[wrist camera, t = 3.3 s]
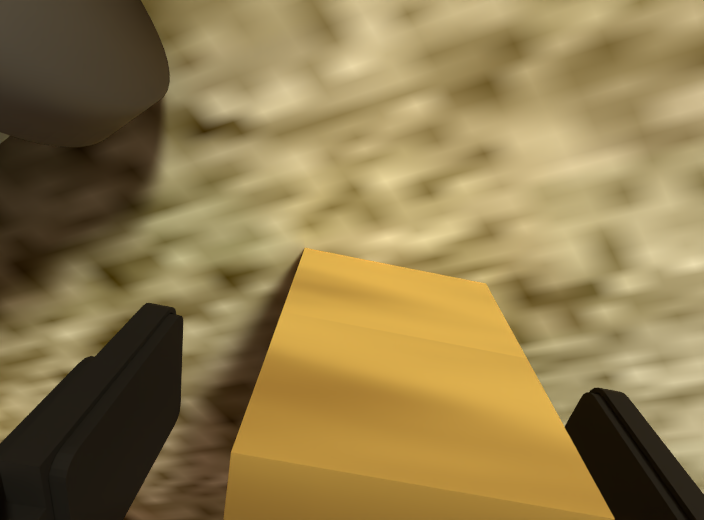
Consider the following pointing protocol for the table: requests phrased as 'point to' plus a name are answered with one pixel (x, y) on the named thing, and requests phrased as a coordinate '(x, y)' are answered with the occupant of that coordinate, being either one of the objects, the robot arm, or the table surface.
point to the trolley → (76, 69)
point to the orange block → (400, 408)
